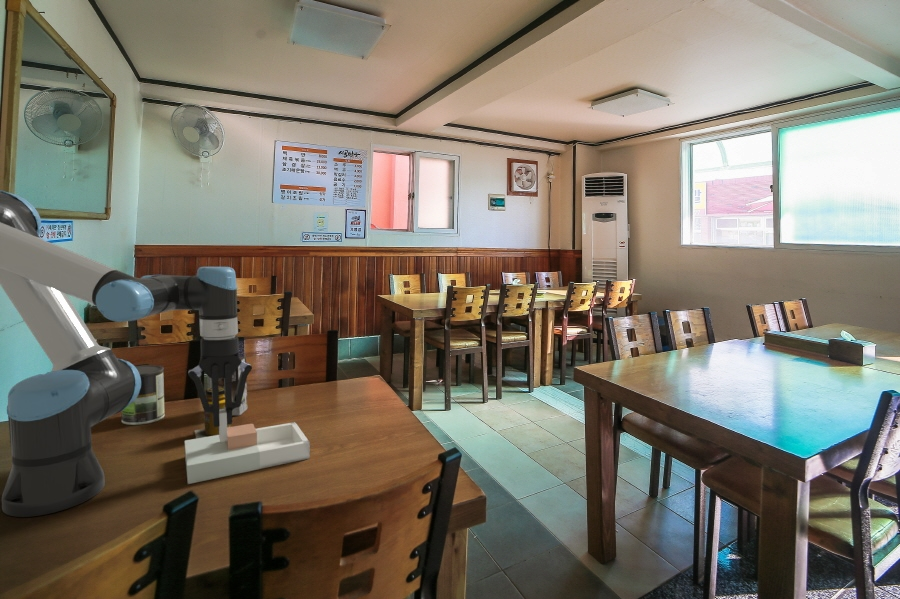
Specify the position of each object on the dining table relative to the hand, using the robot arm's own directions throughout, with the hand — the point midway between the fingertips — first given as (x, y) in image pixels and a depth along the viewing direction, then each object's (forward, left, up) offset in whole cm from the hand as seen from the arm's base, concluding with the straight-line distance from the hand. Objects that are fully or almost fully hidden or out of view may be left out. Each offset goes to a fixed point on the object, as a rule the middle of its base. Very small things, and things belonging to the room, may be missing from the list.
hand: (223, 438), depth 104 cm
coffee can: (-16, +39, -6) cm, 43 cm away
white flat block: (0, 0, -6) cm, 6 cm away
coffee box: (+5, +34, -6) cm, 35 cm away
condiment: (0, +19, -6) cm, 20 cm away
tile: (+4, 0, -2) cm, 4 cm away
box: (+12, 0, -6) cm, 13 cm away
